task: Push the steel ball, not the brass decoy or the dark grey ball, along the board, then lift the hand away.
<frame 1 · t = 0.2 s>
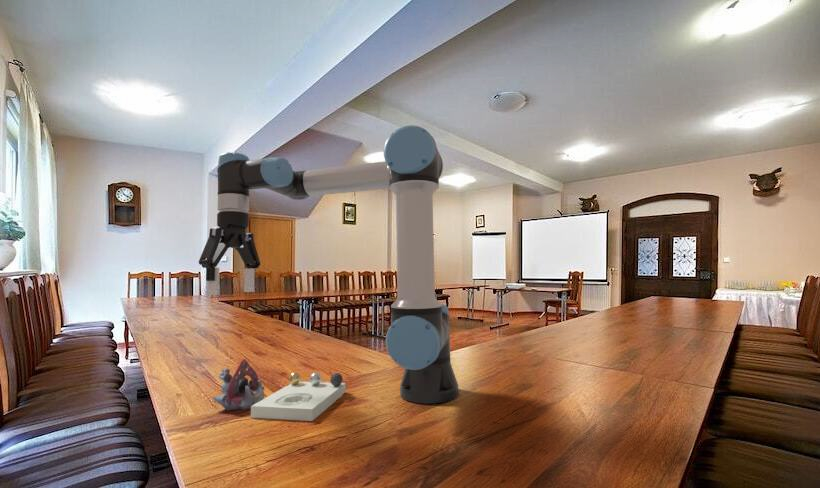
hand: (232, 293, 93), 28 cm above the table, fingers open, 13 cm apart
brass decoy: (294, 378, 97), point 4 cm above the table, touching board
steel ball: (315, 378, 96), point 4 cm above the table, touching board
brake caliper: (241, 405, 89), on the table
board: (302, 404, 88), on the table
dark grey ball: (336, 379, 94), point 4 cm above the table, touching board
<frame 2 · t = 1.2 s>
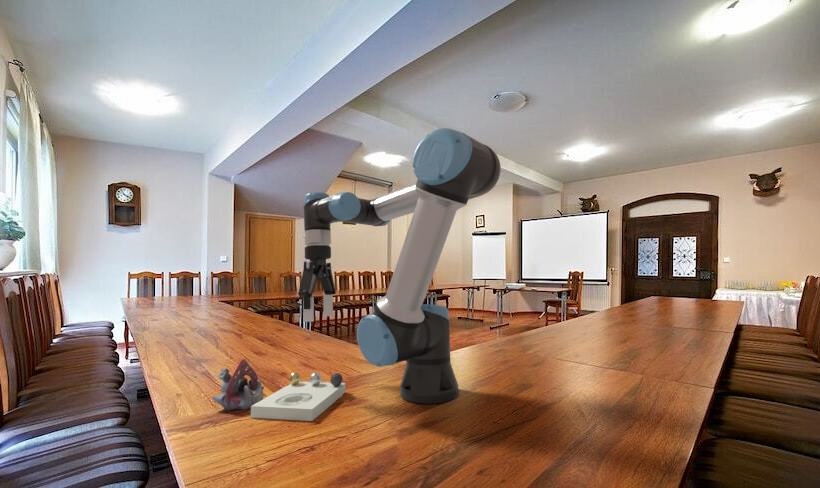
hand: (319, 318, 104), 19 cm above the table, fingers open, 13 cm apart
nothing on the table moved.
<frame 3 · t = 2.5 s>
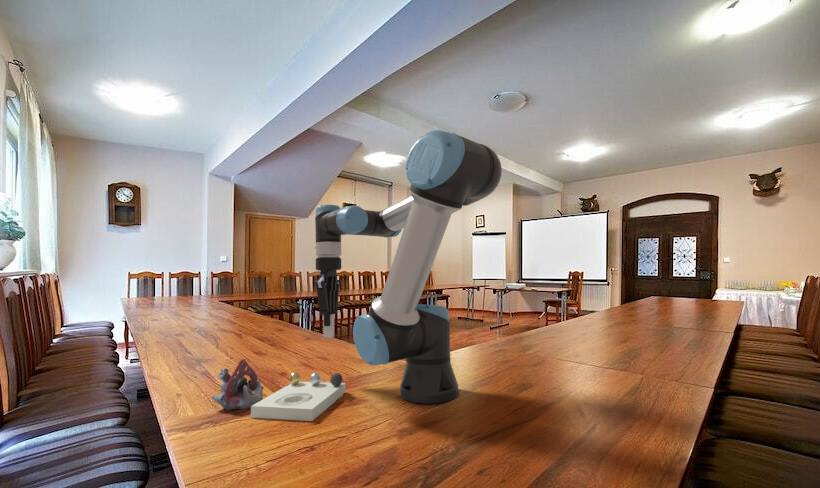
hand: (328, 336, 105), 14 cm above the table, fingers closed
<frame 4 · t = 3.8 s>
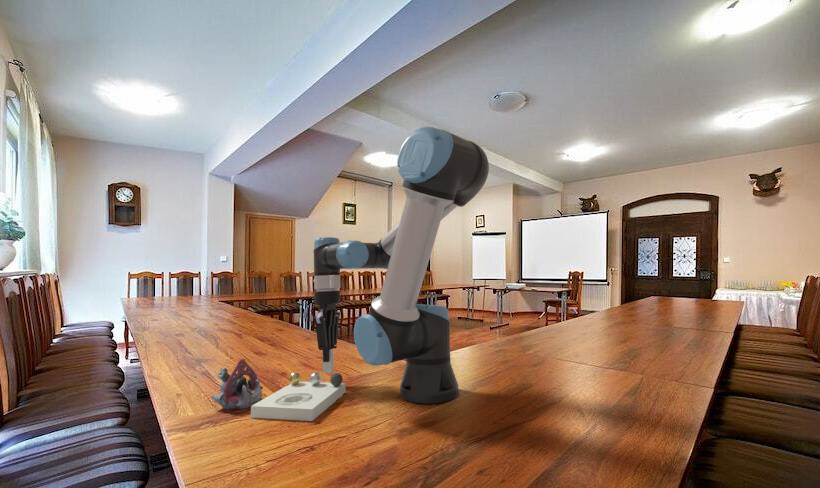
hand: (328, 372, 103), 4 cm above the table, fingers closed
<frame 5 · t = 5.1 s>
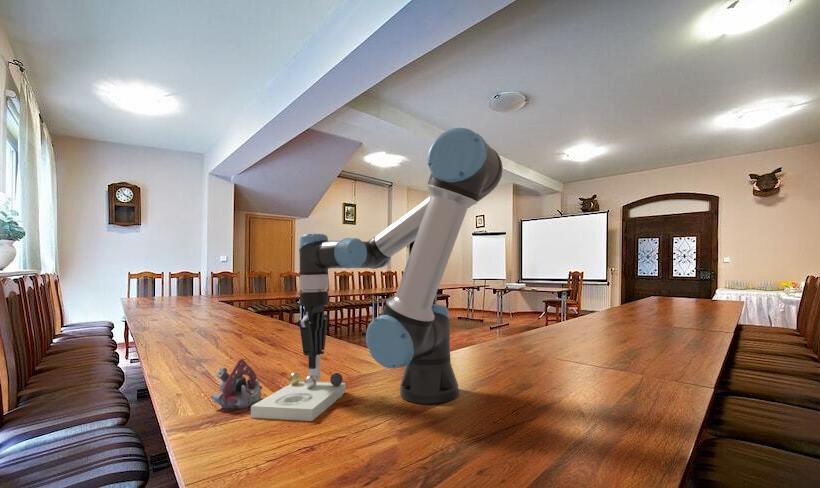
hand: (314, 380, 95), 4 cm above the table, fingers closed
steel ball: (310, 381, 93), point 4 cm above the table, tilted 85°, touching board, gripper
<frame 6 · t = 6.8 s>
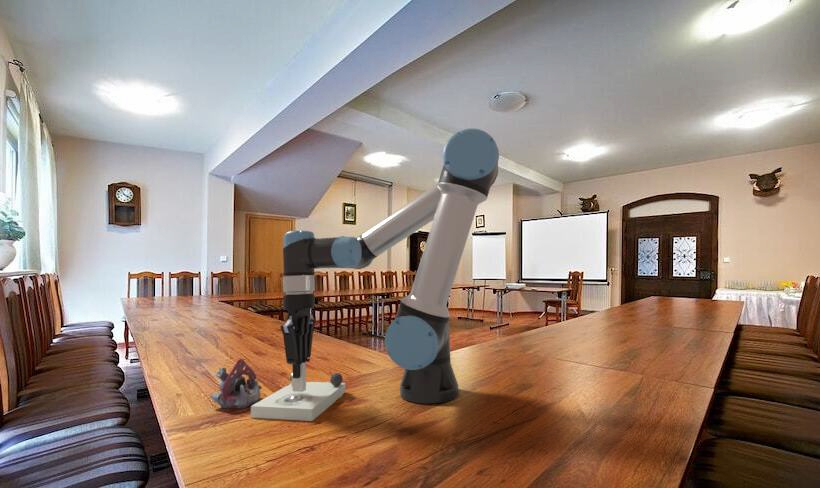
hand: (299, 390, 87), 4 cm above the table, fingers closed
steel ball: (294, 402, 85), point 2 cm above the table, tilted 11°
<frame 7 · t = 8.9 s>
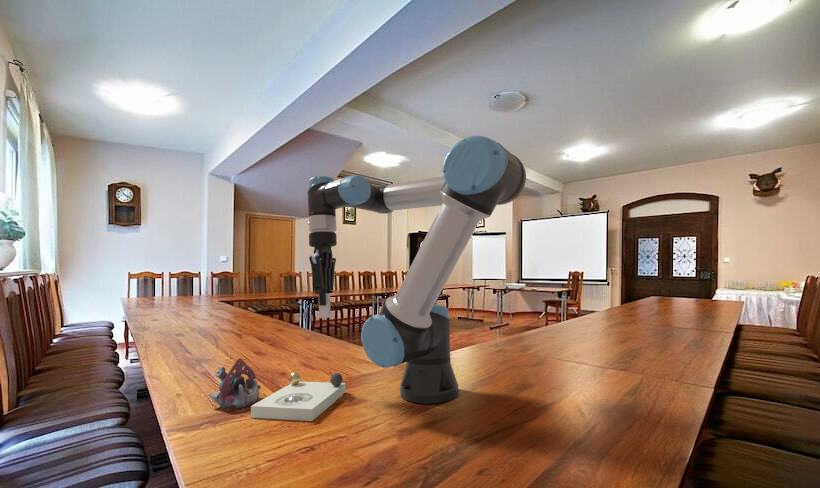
hand: (324, 317, 98), 20 cm above the table, fingers closed
steel ball: (293, 403, 84), point 2 cm above the table, tilted 37°
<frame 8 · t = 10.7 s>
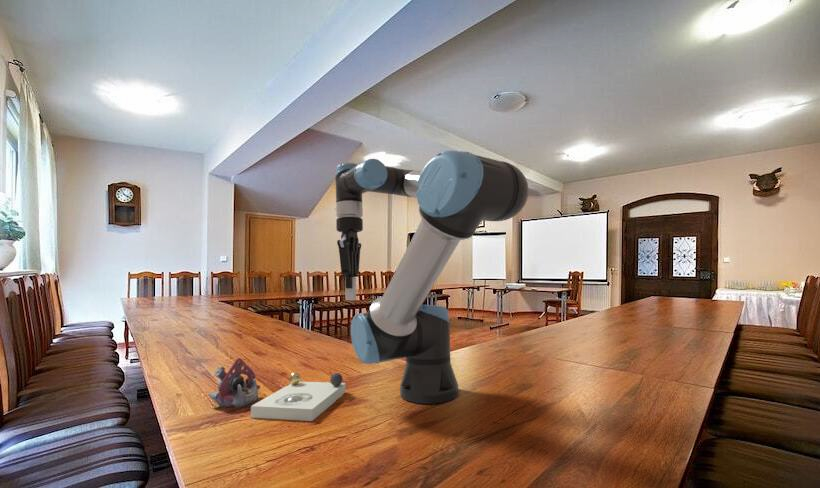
hand: (350, 300, 102), 24 cm above the table, fingers closed
steel ball: (292, 404, 84), point 2 cm above the table, tilted 52°
at the end: steel ball 0.6 cm from the target spot on the board, point 1.6 cm above the board's base; brass decoy moved 0.0 cm from its start; dark grey ball moved 0.0 cm from its start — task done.
